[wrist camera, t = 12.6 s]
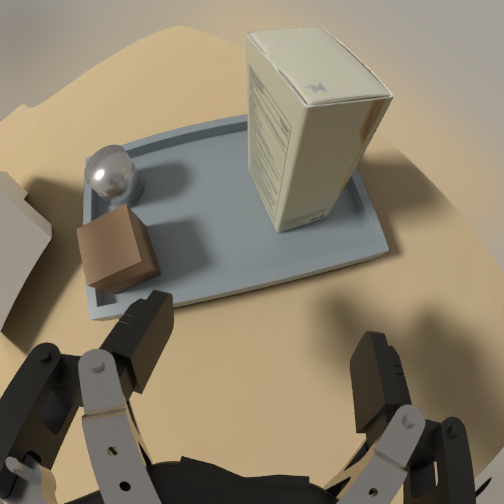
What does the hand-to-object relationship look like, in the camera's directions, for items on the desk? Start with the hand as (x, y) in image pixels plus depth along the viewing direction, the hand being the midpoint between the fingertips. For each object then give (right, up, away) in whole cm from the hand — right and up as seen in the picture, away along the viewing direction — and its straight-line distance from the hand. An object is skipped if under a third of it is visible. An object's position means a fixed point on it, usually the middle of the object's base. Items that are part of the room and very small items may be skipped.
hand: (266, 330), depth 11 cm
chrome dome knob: (-11, +8, +10) cm, 17 cm away
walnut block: (-10, +3, +8) cm, 13 cm away
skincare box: (+2, +8, +10) cm, 13 cm away
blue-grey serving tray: (-3, +7, +11) cm, 13 cm away
